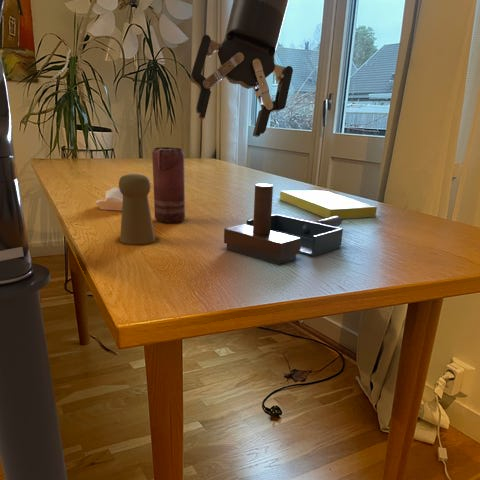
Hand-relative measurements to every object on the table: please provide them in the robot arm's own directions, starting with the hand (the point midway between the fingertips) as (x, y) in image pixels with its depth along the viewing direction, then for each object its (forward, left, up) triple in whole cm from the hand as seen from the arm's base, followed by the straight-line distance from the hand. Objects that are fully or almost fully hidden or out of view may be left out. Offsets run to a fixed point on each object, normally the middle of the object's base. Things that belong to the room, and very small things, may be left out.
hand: (229, 127), depth 71 cm
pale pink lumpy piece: (-20, +36, -19) cm, 45 cm away
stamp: (+5, -2, -19) cm, 20 cm away
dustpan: (+17, +8, -19) cm, 27 cm away
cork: (-15, +8, -19) cm, 25 cm away
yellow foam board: (+29, +36, -19) cm, 50 cm away
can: (-9, +23, -19) cm, 31 cm away
